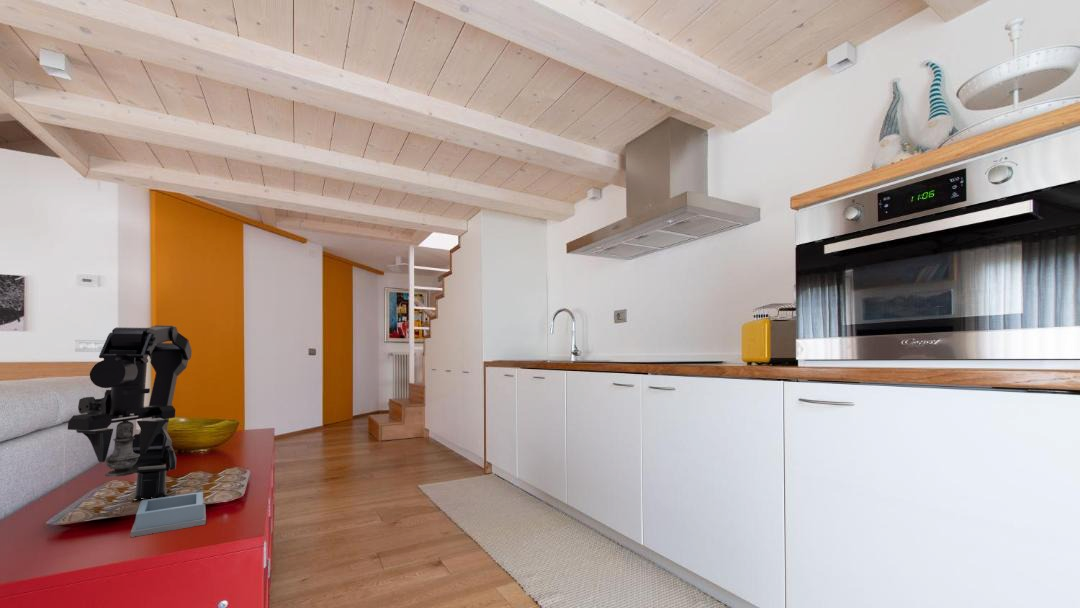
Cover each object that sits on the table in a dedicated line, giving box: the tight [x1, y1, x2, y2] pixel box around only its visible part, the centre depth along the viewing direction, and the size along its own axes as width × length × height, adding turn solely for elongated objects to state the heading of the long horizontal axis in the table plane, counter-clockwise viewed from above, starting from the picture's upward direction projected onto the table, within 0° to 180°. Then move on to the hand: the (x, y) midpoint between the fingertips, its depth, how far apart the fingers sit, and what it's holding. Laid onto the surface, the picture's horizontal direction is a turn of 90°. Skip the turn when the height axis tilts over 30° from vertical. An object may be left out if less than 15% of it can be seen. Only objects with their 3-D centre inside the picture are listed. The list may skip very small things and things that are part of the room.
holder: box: [130, 491, 207, 538], centre depth 102 cm, size 12×12×4 cm
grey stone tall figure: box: [104, 420, 140, 478], centre depth 104 cm, size 6×6×12 cm
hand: (123, 457), depth 104 cm, fingers closed on grey stone tall figure, 8 cm apart
